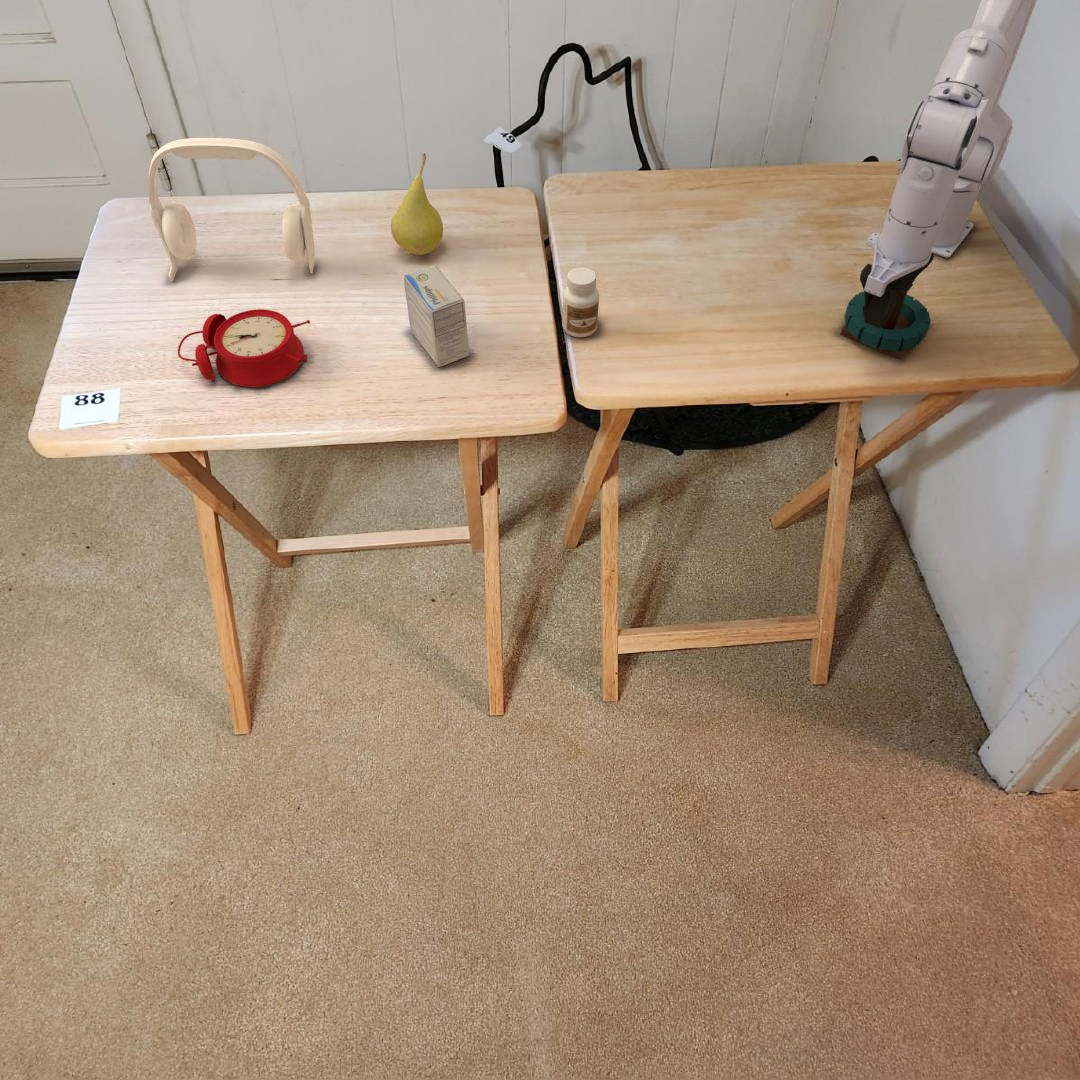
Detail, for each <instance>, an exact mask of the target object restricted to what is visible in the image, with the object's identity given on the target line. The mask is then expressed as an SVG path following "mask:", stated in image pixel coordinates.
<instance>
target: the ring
mask: <svg viewBox="0 0 1080 1080" xmlns="http://www.w3.org/2000/svg"><path fill="white" fill-rule="evenodd" d="M864 310H865V295H864V291H860V292H859V293H856V294H855V295H854V296H853V297H852V299H850V301H848V303H847V307H846V311H845V313H844V324H845V325H846V327H847V330H848V331H849V332H850V333H851V334H852V335H853V336H854V337H855V338H856V339H857V340H858V339H860V342H861V343H864V344H866V345H868V346H871V347H873V348H875V349H874V350H876V348H877V347H878V346H879V350H888V351H898V349H900V350H901V351H903V350H906V349H908V350H910V349H912V348H913V349H914V348H916V347H917V346H918V345H921V343H922V341H923V340H924V339H925V338H926V336H927V334H928V332H929V329H930V327H931V324H932V323H931V317H930V312H929V311H928V308H927V307H926V306H925V305H923V303H922V302H920V301H919V300H918V299H917V298H914V296H911V295H909V294H907V295H906V298H905V301H904V303H903V306H902V309H901V312H900V314H901V315H902V316H904V317H905V318H906V319H907V320H908V321H909V322H910V327H908V328H904V329H901V330H890V329H883V328H877V327H875V326H872V325H870V324H867V323H865V322H864ZM845 325H844V326H845ZM861 343H860V344H861ZM864 344H863V345H864ZM866 345H865V346H866ZM868 346H867V347H868ZM871 347H870V348H871ZM873 348H872V349H873Z"/></svg>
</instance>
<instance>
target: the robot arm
mask: <svg viewBox="0 0 1080 1080" xmlns="http://www.w3.org/2000/svg"><path fill="white" fill-rule="evenodd" d="M1037 1H1038V0H980V2H979V5H978V8H977V11H976V14H975V17H974V19H973V23H972V25H971V27H969V28H966V29H964V30H962V31H961V32H959V33H957V34H956V35H955V36H954V37H953V39H952V42H951V44H950V46H949V48H948V50H947V52H946V55H945V57H944V58H943V61H942V63H941V66H940V68H939V71H938V73H937V74H936V77H935V79H934V81H933V84H932V86H931V88H930V90H929V92H928V95H927V97H926V99H925V101H924V100H923V99H921V100H920V101H919V102H918V103H917V105H916V107H915V109H914V111H913V113H912V115H911V118H910V120H909V123H908V126H907V129H906V130H905V131H906V132H905V135H904V138H903V145H902V150H901V151H902V152H901V157H900V162H899V164H898V169H897V171H898V172H899V175H898V177H897V180H896V184H895V186H894V189H893V193H892V196H891V199H890V203H889V206H888V209H887V211H886V215H885V218H884V222H883V225H882V228H881V231H880V232H872V233H871V234H870V235H869V236H868V238H867V240H866V246H868V247H870V248H872V249H873V255H872V263H867V264H866V265H865V266H864V267H863V268H862V269H861V271H860V274H859V282H860V283H861V287H862V289H863V292H864V295H865V310H864V322H865V323H867V324H870V325H872V326H875V327H877V328H881V327H882V326H883V324H884V323H885V322H886V320H887V319H888V317H889V315H890V313H891V311H892V310H895V309H896V308H897V307H898V306H899V304H900V303H901V301H902V300H903V298H904V297H905V295H906V293H907V294H908V292H909V291H910V290H911V289H912V287H913V286H914V284H913V283H914V282H915V280H916V279H917V278H918V276H919V275H921V273H922V272H923V271H925V270H926V269H927V268H928V267H929V266H930V265H931V264H932V263H933V261H934V258H935V255H937V256H940V257H943V258H945V259H947V258H948V259H949V258H950V257H951V256H952V255H953V254H954V252H955V251H956V250H957V249H958V248H959V246H960V245H961V244H962V242H964V240H965V238H966V237H967V236H968V234H969V233H970V232H971V230H972V229H973V228H974V223H973V222H972V221H969V218H970V217H971V216H970V215H971V213H972V211H973V208H974V206H975V203H976V200H977V198H978V195H979V193H980V190H981V188H982V186H985V187H986V186H987V185H989V184H990V183H992V182H993V180H994V178H995V177H996V174H997V171H998V169H999V167H1000V165H1001V163H1002V160H1003V158H1004V155H1005V153H1006V151H1007V147H1008V145H1009V142H1010V137H1011V134H1012V131H1013V129H1014V127H1013V124H1014V122H1013V120H1012V118H1011V117H1010V115H1009V114H1007V113H1006V111H1005V110H1004V109H1003V108H1002V106H1000V104H999V102H1000V100H1001V96H1002V94H1003V92H1004V89H1005V86H1006V83H1007V81H1008V78H1009V75H1010V73H1011V70H1012V67H1013V65H1014V62H1015V60H1016V57H1017V54H1018V51H1019V49H1020V46H1021V43H1022V41H1023V38H1024V35H1025V34H1026V33H1025V32H1026V30H1027V27H1028V26H1029V22H1030V20H1031V18H1032V14H1033V12H1034V9H1035V6H1036V4H1037Z"/></svg>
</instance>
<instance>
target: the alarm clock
mask: <svg viewBox="0 0 1080 1080" xmlns="http://www.w3.org/2000/svg"><path fill="white" fill-rule="evenodd" d="M310 323H311V320H309V319H307V320H306V321H303V322H299V323H296V324H292V322H291V321H290V320H289V318H287V317H286V316H285V315H284V314H282V313H280V312H278V311H275V310H270V309H262V308H261V309H260V308H258V309H249V310H245V311H241V312H239V313H236V314H233V315H232V316H229V317H228V318H226V316H225V315H224V314H222V313H213V314H211V315H209V316H208V317H207V319H205V321H204V323H203V326H202V329H201V330H198V331H193V332H190V333H188V334H186V335H184V336H183V338H182V339H181V340H180V342H179V345H178V347H177V356H178V358H179V359H181V360H183V361H186V362H193V363H191V366H192V367H196V366H197V368H198V371H199V372H200V374H201V376H202V377H203V378H204V379H205V380H208V381H214V380H216V377H215V373H214V369H213V365H212V363H211V359H210V356H214V355H215V366H216V370H217V372H218V373H219V375H220V376H221V377H222V378H223V379H224V380H226V381H227V382H229V383H231V384H234V385H236V386H240V387H246V388H258V387H265V386H269V385H273V384H276V383H279V382H281V381H283V380H285V379H288V377H290V376H291V375H292V374H294V373H295V372H296V370H298V369H299V367H300V366H301V364H302V363H303V361H305V362H308V361H307V360H308V355H307V354H305V350H304V346H303V343H302V341H301V340H300V339H299V337H298V336H297V335H295V330H294V328H298V327H300V326H304V325H306V324H310ZM197 334H202V335H201V336H202V339H203V342H204V343H201V344H198V345H196V347H195V350H194V353H195V354H194V355H195V357H194V358H186V357H183V356H182V355H181V347H182V345H183V343H184V342H185V340H186V339H188V338H189V337H191V336H193V335H197ZM208 349H212V350H215V351H212V352H209V353H208Z"/></svg>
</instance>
